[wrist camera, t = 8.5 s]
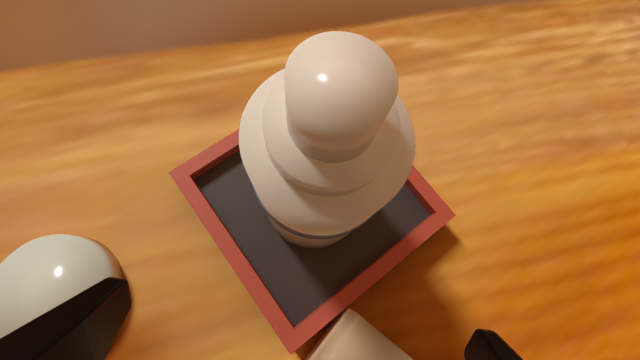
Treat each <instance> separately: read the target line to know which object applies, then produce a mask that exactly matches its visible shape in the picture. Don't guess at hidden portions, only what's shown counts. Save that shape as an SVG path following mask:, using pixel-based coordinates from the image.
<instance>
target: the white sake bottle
mask: <svg viewBox="0 0 640 360" xmlns="http://www.w3.org/2000/svg"><path fill="white" fill-rule="evenodd" d="M397 92H398V77H397V72H396V69H395V67H394V65H393V62H392V61H391V59H390V58H389V56H388V55H387V54H386V53H385V51H384V50H383V49H382V48H381V47H379V46H378V45H377V44H375V43H374V42H373V41H371V40H369V39H367V38H365V37H363V36H361V35H358V34H354V33H350V32H343V31H331V32H324V33H320V34H317V35H314V36H312V37H310V38H308V39H306V40H305V41H303V42H302V43H301V44H300V45H298V46H297V47H296V48H295V50H294V51H293V52H292V53H291V55H290V57H289V58H288V61H287V63H286V66H285V69H283V70H281V71H279V72H277V73H275V74H274V75H272V76H271V77H270V78H268V79H267V80H266V81H265V82H264V83H263V84H261V85H260V86H259V88H258V89H257V90H256V91H255V92H254V93H253V95H252V97H251V98H250V100H249V101H248V103H247V105H246V107H245V110H244V112H243V115H242V118H241V122H240V128H239V148H240V155H241V158H242V162H243V165H244V167H245V170H246V172H247V174H248V176H249V178H250V180H251V182H252V184H253V188H254V191H255V194H256V196H257V198H258V200H259V202H260V204H261V206H262V207H263V209H264V211H265V212H266V214H267V216H268V218H269V220H270V222H271V224H272V226H273V227H274V229H275V230H276V231H277V232H278V234H279V235H281V236H282V237H283V238H284V239H286V240H287V241H288V242H290V243H292V244H294V245H297V246H300V247H304V248H323V247H327V246H330V245H333V244H335V243H337V242H339V241H340V240H341V239H343V238H344V237H345V236H347V235H348V234H349V233H351V232H352V231H354V230H355V229H357V228H358V227H360V226H361V225H363V224H364V223H365V222H366V221H367V220H369V219H370V218H371V217H372V216H373V215H374V213H376V212H377V211H378V210H380V209H381V208H382V207H383V206H385V205H386V204H387V203H388V202H389V201H390V200H391V199H392V198H393V197H395V195H396V194H397V193H398V192H399V190H400V189H401V188H402V186H403V185H404V183H405V181H406V180H407V178H408V176H409V173H410V171H411V168H412V165H413V161H414V155H415V134H414V128H413V124H412V121H411V118H410V115H409V113H408V111H407V109H406V107H405V105H404V104H403V102H402V101H401V99H400V98H399V96H398V95H397Z"/></svg>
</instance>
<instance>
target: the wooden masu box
mask: <svg viewBox="0 0 640 360" xmlns="http://www.w3.org/2000/svg"><path fill="white" fill-rule="evenodd" d="M305 360H413V359H412V358H411V357H410V356H409V355H407V354H406V353H405V352H404V351H402V350H401V349H400V348H399V347H398V346H396V345H395V344H394V343H393V342H392V341H390V340H389V339H388V338H387V337H386V336H384V335H383V334H382V333H381V332H380V331H378V330H377V329H376V328H375V327H373V326H372V325H371V324H370V323H369V322H367V321H366V320H365V319H364V318H363V317H361V316H360V315H359V314H358V313H356V312H355V311H353V310H352V309H350V308H349V307H346V308H345V309H344V310H343V311H342V312H341V313H339V314H338V315H337V316H336V317H335V318H334V319H333V320H332V322H331V323H330V325H329V326H328V327H327V329H326V330H325V332H324V333H323V334H322V336H321V337H320V339H319V340H318V342H317V343H316V344H315V346H314V347H313V349H312V350H311V351H310V353H309V354H308V356H307V357H306V359H305Z"/></svg>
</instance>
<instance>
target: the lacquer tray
mask: <svg viewBox="0 0 640 360" xmlns="http://www.w3.org/2000/svg"><path fill="white" fill-rule="evenodd" d="M169 173H170V175H171V176H172V178H173V179H174V181H175V182H176V184H177V185H178V187H179V188H180V190H181V191H182V193H183V194H184V196H185V197H186V199H187V200H188V202H189V203H190V205H191V206H192V208H193V209H194V211H195V212H196V214H197V215H198V217H199V218H200V220H201V221H202V223H203V224H204V226H205V227H206V229H207V230H208V232H209V233H210V235H211V236H212V238H213V239H214V241H215V242H216V244H217V245H218V247H219V248H220V250H221V251H222V253H223V254H224V256H225V257H226V259H227V260H228V262H229V263H230V265H231V266H232V268H233V269H234V271H235V272H236V274H237V275H238V277H239V278H240V280H241V281H242V283H243V284H244V286H245V287H246V289H247V290H248V292H249V293H250V295H251V296H252V298H253V299H254V301H255V302H256V304H257V305H258V307H259V308H260V310H261V311H262V313H263V314H264V316H265V317H266V319H267V320H268V322H269V323H270V325H271V326H272V328H273V329H274V331H275V332H276V334H277V335H278V337H279V338H280V340H281V341H282V343H283V344H284V346H285V347H286V349H287V350H288V352H289V353H290V355H291V354H292V353H293V352H294V351H296V350H297V349H298V348H299V347H300V346H302V345H303V344H304V343H305V342H306V341H307V340H309V339H310V338H311V337H312V336H313V335H315V334H316V333H317V332H318V331H319V330H320V329H322V328H323V327H324V326H325V325H326V324H328V323H329V322H330V321H331V320H332V319H333V318H335V317H336V316H337V315H338V314H339V313H341V312H342V311H343V310H344V309H345V308H346V307H348V306H349V305H350V304H351V303H352V302H354V301H355V300H356V299H357V298H358V297H360V296H361V295H362V294H363V293H364V292H365V291H367V290H368V289H369V288H370V287H371V286H373V285H374V284H375V283H376V282H377V281H378V280H380V279H381V278H382V277H383V276H384V275H386V274H387V273H388V272H389V271H390V270H391V269H393V268H394V267H395V266H396V265H397V264H399V263H400V262H401V261H402V260H403V259H404V258H406V257H407V256H408V255H409V254H410V253H412V252H413V251H414V250H415V249H416V248H418V247H419V246H420V245H421V244H422V243H423V242H425V241H426V240H427V239H428V238H429V237H431V236H432V235H433V234H434V233H435V232H436V231H438V230H439V229H440V228H441V227H442V226H444V225H445V224H446V223H447V222H448V221H449V220H451V219H452V218H453V217H454V216H455V214H454V213H453V212H452V211H451V209H450V208H449V207H448V206H447V205H446V204H445V202H444V201H443V200H442V199H441V198H440V197H439V195H438V194H437V193H436V192H435V191H434V190H433V188H432V187H431V186H430V185H429V184H428V183H427V181H426V180H425V179H424V178H423V177H422V176H421V174H420V173H419V172H418V171H417V170H416V169H415V167H414V166H413V165H412V168H411V171H410V173H409V176H408V178H407V180H406V181H405V183H404V185H403V186H402V188H401V189H400V190H399V192H398V193H397V194H396V195H395V197H393V198H392V199H391V200H390V201H389V202H388V203H387V204H386V205H385V206H383V207H382V208H381V209H380V210H378V211H377V212H376V213H374V215H373V216H372V217H371V218H370V219H369V220H367V221H366V222H365V223H364V224H363V225H361V226H360V227H358V228H357V229H355V230H354V231H352V232H351V233H349V234H348V235H347V236H345V237H344V238H343V239H341V240H340V241H339V242H337V243H335V244H333V245H330V246H327V247H323V248H304V247H300V246H297V245H294V244H292V243H290V242H288V241H287V240H286V239H284V238H283V237H282V236H281V235H279V234H278V232H277V231H276V230H275V229H274V227H273V226H272V224H271V222H270V220H269V218H268V216H267V214H266V212H265V211H264V209H263V207H262V206H261V204H260V202H259V200H258V198H257V196H256V194H255V191H254V188H253V184H252V182H251V180H250V178H249V176H248V174H247V172H246V170H245V167H244V165H243V162H242V158H241V155H240V148H239V129H238V130H237V131H235V132H233V133H232V134H230V135H228V136H227V137H225V138H224V139H222V140H220V141H219V142H217V143H216V144H214V145H212V146H211V147H209V148H207V149H206V150H204V151H203V152H201V153H199V154H198V155H196V156H195V157H193V158H191V159H190V160H188V161H187V162H185V163H183V164H182V165H180V166H178V167H177V168H175V169H174V170H172V171H170V172H169Z"/></svg>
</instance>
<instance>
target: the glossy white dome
mask: <svg viewBox="0 0 640 360" xmlns="http://www.w3.org/2000/svg"><path fill="white" fill-rule="evenodd" d="M108 277H117V278H122V271H121V268H120V265H119V262H118V260H117V258H116V257H115V255H114V254H113V253H112V252H111V251H110V250H109V249H108V248H107V247H106V246H105V245H103V244H102V243H100V242H98V241H96V240H93V239H89V238H85V237H79V236H73V235H65V234H54V235H48V236H43V237H40V238H37V239H34V240H32V241H30V242H28V243H26V244H24V245H22V246H21V247H19V248H18V249H16V250H15V251H14V252H12V253H11V254H10V255H9V256H8V257H7V258H6V259H5V260H4V261H3V262H2V263H1V264H0V338H2V337H4V336H5V335H7V334H9V333H11V332H12V331H14V330H16V329H18V328H19V327H21V326H23V325H25V324H26V323H28V322H30V321H32V320H33V319H35V318H37V317H39V316H40V315H42V314H44V313H46V312H47V311H49V310H51V309H53V308H54V307H56V306H58V305H60V304H61V303H63V302H65V301H67V300H68V299H70V298H72V297H74V296H75V295H77V294H79V293H81V292H82V291H84V290H86V289H88V288H89V287H91V286H93V285H95V284H96V283H98V282H100V281H102V280H103V279H105V278H108Z"/></svg>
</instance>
